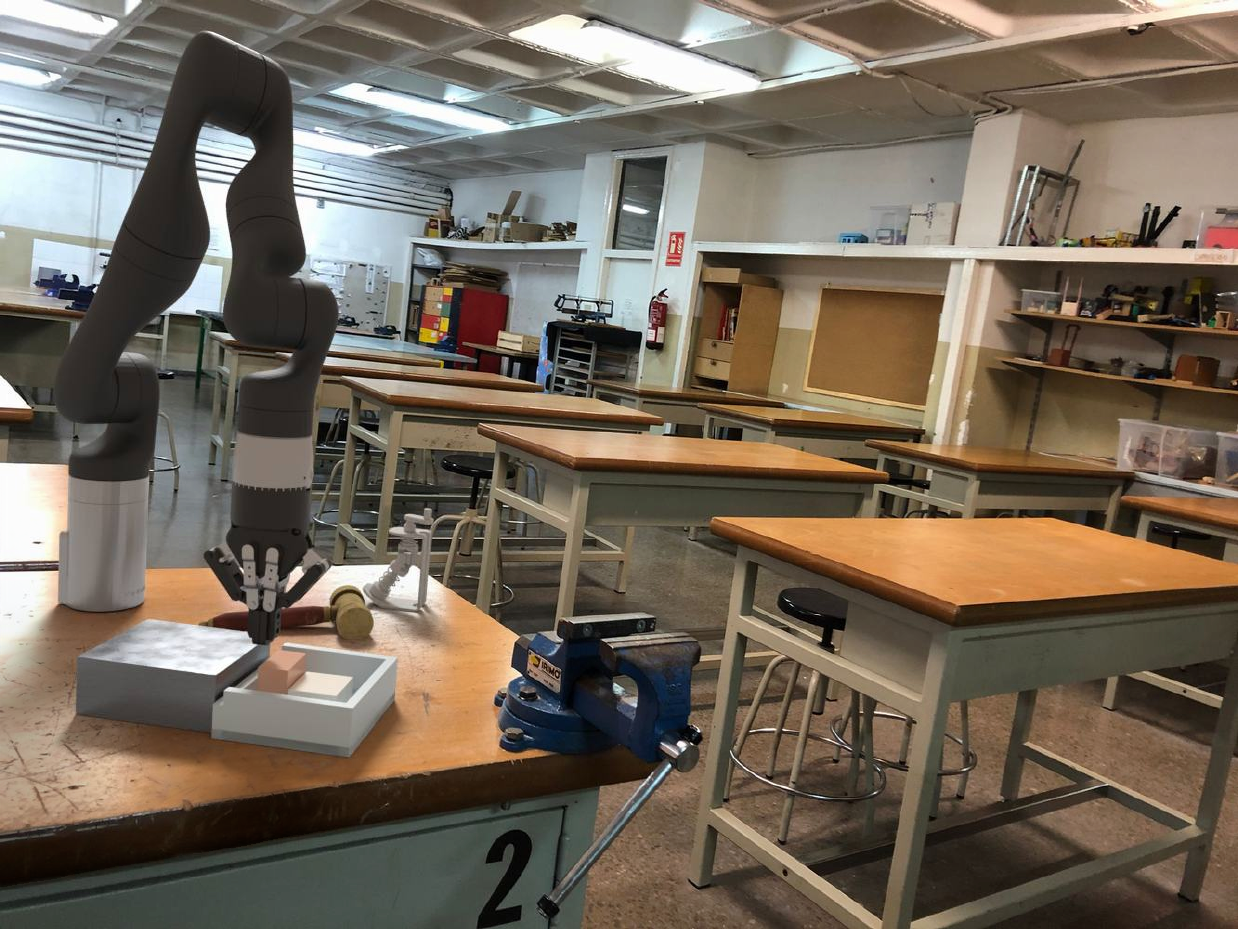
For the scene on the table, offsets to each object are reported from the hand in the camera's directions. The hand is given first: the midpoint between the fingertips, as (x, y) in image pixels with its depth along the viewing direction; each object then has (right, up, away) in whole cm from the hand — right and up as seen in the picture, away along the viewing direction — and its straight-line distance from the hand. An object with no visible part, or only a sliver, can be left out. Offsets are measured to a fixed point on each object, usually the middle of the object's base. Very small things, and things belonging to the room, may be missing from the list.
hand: (263, 642), depth 94 cm
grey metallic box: (-10, -6, +2) cm, 12 cm away
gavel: (-7, -4, +26) cm, 27 cm away
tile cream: (+6, -4, 0) cm, 7 cm away
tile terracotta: (0, -4, 0) cm, 4 cm away
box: (+4, -8, +1) cm, 9 cm away
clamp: (+4, -2, +40) cm, 40 cm away
